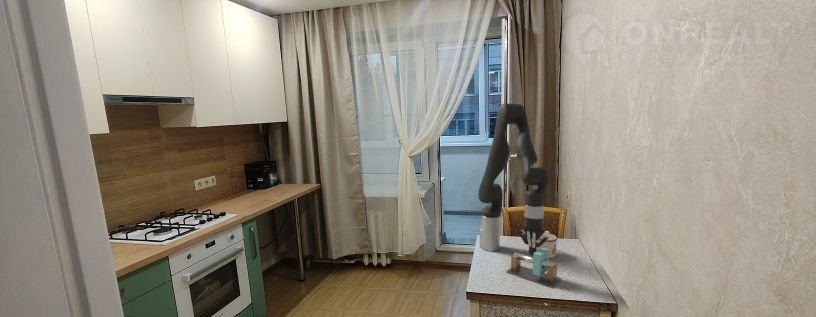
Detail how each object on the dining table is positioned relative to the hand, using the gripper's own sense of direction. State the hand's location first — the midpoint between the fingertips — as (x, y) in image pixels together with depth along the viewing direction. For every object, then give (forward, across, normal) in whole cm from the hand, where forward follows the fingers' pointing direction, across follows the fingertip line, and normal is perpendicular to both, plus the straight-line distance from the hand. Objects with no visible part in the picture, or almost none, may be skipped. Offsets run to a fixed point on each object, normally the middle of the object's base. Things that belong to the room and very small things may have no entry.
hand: (532, 255), depth 152 cm
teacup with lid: (+10, -6, +27) cm, 29 cm away
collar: (+6, +4, 0) cm, 7 cm away
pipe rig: (+9, 0, 0) cm, 9 cm away
